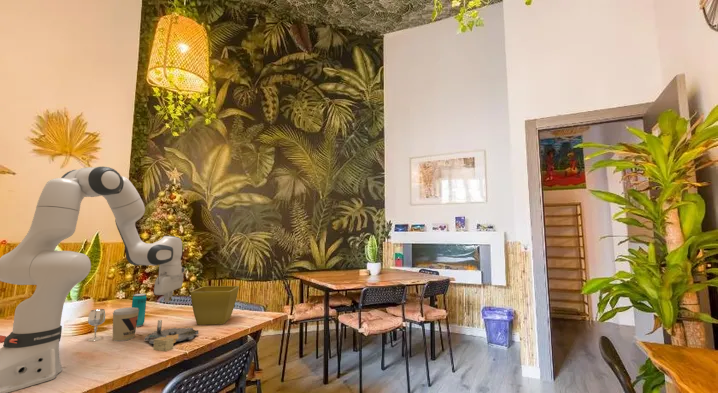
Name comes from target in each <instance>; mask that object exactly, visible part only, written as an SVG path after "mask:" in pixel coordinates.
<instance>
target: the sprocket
mask: <svg viewBox="0 0 718 393" xmlns="http://www.w3.org/2000/svg"><path fill="white" fill-rule="evenodd" d="M162 326H163V320H161V319H159V320H157V327H156V331H154V332H153V331H152V332H151V334H149V335H145V336H144V341H146V342H147V341H148V342H149V344H151V345H154V339H157V338H160V337H167V338H174V342H173V344H176V343H178V342H182V341H187V340H188V341H190V340H192V339H194V338H195V336H196V335H199V330H197V329H196V330H195V329H194V328H193V327H179V328H177V327H171V328H167V329H162Z"/></svg>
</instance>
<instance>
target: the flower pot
mask: <svg viewBox="0 0 718 393" xmlns="http://www.w3.org/2000/svg"><path fill="white" fill-rule="evenodd" d="M239 288H240V287H239V285H206V286H205V285H203V286H202V287H198V288H196V289H194V290H191V291H190V300H191V306H192V311H193V315H194V318H195V322H196V324H197V326H198V325H200V326H201V325H204V326H205V325H207V326H208V325H223V324H225V323H227V321H229V320H230V318H231V316H232V314H233V311H234V308H235V305H236V302H237V298H238V294H239V290H240V289H239Z"/></svg>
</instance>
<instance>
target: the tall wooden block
mask: <svg viewBox="0 0 718 393" xmlns="http://www.w3.org/2000/svg"><path fill="white" fill-rule="evenodd" d="M173 342H174V338H167V337H160V338H157V339H154V344H153V348H152V350H153V351H159V352H167V351H170V350H173V349H174V343H173Z"/></svg>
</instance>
